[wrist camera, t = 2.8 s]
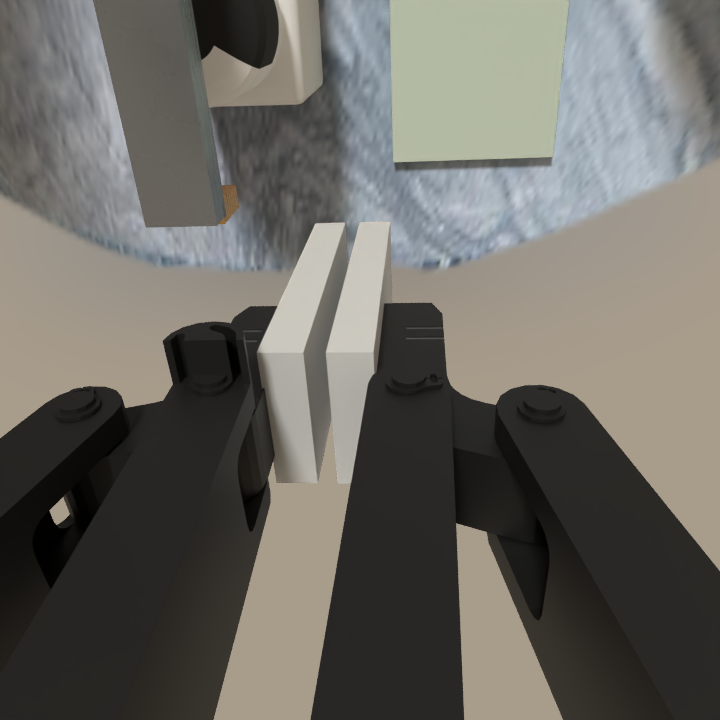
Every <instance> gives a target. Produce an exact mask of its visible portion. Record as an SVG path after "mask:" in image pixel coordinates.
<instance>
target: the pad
mask: <svg viewBox="0 0 720 720" xmlns="http://www.w3.org/2000/svg"><path fill="white" fill-rule="evenodd" d="M568 7H569V0H390V37H391V81H392V126H393V162H417V161H447V160H478V159H508V158H539V157H553V150H554V141H555V131H556V122H557V112H558V102H559V93H560V83H561V74H562V64H563V55H564V45H565V35H566V26H567V16H568Z"/></svg>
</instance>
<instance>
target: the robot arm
mask: <svg viewBox="0 0 720 720" xmlns="http://www.w3.org/2000/svg"><path fill="white" fill-rule="evenodd" d="M442 318H443V317H442V313H441V312H440V311H439V310H438V309H437V308H436V307H435V306H434V305H433V304H432V303H392V274H391V236H390V222H360V223H359V227H358V231H357V235H356V239H355V243H354V246H353V250H352V254H351V258H350V262H349V266H348V255H347V239H346V223H315V226H314V228H313V230H312V232H311V234H310V237H309V239H308V241H307V243H306V245H305V248H304V250H303V252H302V254H301V256H300V259H299V261H298V263H297V265H296V267H295V269H294V272H293V274H292V276H291V278H290V281H289V283H288V285H287V287H286V290H285V291H284V294H283V296H282V298H281V300H280V303H279V305H278V306H258V307H256V306H255V307H254V306H253V307H252V306H251V307H249V308H247V309H246V310H244V311H243V312H241V313H240V314H238V315H237V316H236V317H234V319H233V321H232V322H231V324H230V323H226V322H205V323H198V324H194V325H190V326H186V327H183V328H181V329H179V330H177V331H175V332H173V333H171V334H170V335H169V336H168V337H166V338H165V339H164V340H163V344H164V348H165V353H166V357H167V361H168V365H169V369H170V373H171V377H172V381H173V385H172V387H171V389H170V390H169V392H168V394H167V395H166V397H165V399H164V400H163V401H160V402H156V403H151V404H146V405H140V406H135V407H129V408H125V406H124V403H123V400H122V396H121V395H120V394H119V393H118V392H117V391H116V390H113V389H111V388H107V387H91V386H89V387H83V388H77V389H73V390H71V391H69V392H67V393H64V394H62V395H59V396H57V397H55V398H54V399H52V400H50V401H49V402H47V403H45V404H44V405H43V406H42V407H40V408H39V409H38V410H36V411H35V412H34V413H32V414H31V415H30V416H29V417H28V418H26V419H25V420H24V421H22V422H21V423H20V424H18V425H17V426H16V427H14V428H13V429H12V430H11V431H9V432H8V433H7V434H5V435H4V436H3V437H2V438H0V720H213V719H214V715H215V712H216V708H217V704H218V700H219V696H220V692H221V688H222V685H223V681H224V677H225V673H226V669H227V666H228V662H229V658H230V654H231V651H232V646H233V643H234V639H235V635H236V632H237V628H238V624H239V620H240V616H241V613H242V609H243V605H244V601H245V597H246V594H247V590H248V586H249V582H250V578H251V574H252V571H253V567H254V563H255V559H256V555H257V552H258V548H259V544H260V540H261V536H262V533H263V529H264V525H265V521H266V517H267V514H268V510H269V506H270V488H269V482H268V476H269V472H270V469H271V466H272V462H274V468H275V474H276V481H277V483H318V480H319V474H320V470H321V465H322V461H323V456H324V451H325V445H326V441H327V436H328V431H329V427H330V422H331V417H332V426H333V438H334V450H335V460H336V472H337V483H338V484H351V486H350V492H349V498H348V504H347V510H346V515H345V522H344V527H343V533H342V539H341V545H340V551H339V556H338V562H337V568H336V574H335V580H334V586H333V592H332V597H331V604H330V609H329V615H328V621H327V627H326V632H325V639H324V645H323V650H322V656H321V662H320V667H319V673H318V679H317V685H316V691H315V697H314V703H313V708H312V715H311V720H464V707H463V682H462V660H461V659H462V657H461V635H460V634H461V633H460V609H459V586H458V560H457V537H456V523H458V524H461V525H464V526H468V527H472V528H475V529H479V530H482V531H486V532H487V535H488V541H489V545H490V547H491V549H492V552H493V554H494V556H495V558H496V561H497V564H498V566H499V568H500V571H501V573H502V575H503V578H504V580H505V583H506V585H507V587H508V589H509V592H510V594H511V597H512V599H513V602H514V604H515V606H516V608H517V611H518V613H519V615H520V618H521V620H522V623H523V625H524V628H525V630H526V632H527V634H528V637H529V640H530V642H531V644H532V647H533V649H534V651H535V653H536V656H537V659H538V661H539V663H540V666H541V668H542V670H543V673H544V675H545V678H546V680H547V682H548V685H549V687H550V689H551V692H552V694H553V697H554V699H555V701H556V704H557V706H558V708H559V711H560V713H561V716H562V718H563V720H720V571H719V570H718V568H717V567H716V566H715V565H714V564H713V562H712V561H711V560H710V559H709V557H708V556H707V555H706V554H705V552H704V551H703V550H702V549H701V547H700V546H699V545H698V544H697V542H696V541H695V540H694V539H693V537H692V536H691V535H690V534H689V533H688V531H687V530H686V529H685V528H684V526H683V525H682V524H681V523H680V521H679V520H678V519H677V518H676V517H675V515H674V514H673V513H672V512H671V510H670V509H669V508H668V507H667V505H666V504H665V503H664V502H663V500H662V499H661V498H660V497H659V496H658V494H657V493H656V492H655V491H654V489H653V488H652V487H651V486H650V484H649V483H648V482H647V481H646V479H645V478H644V477H643V476H642V475H641V473H640V472H639V471H638V470H637V469H636V467H635V466H634V465H633V463H632V462H631V461H630V460H629V458H628V457H627V456H626V455H625V453H624V452H623V451H622V450H621V449H620V447H619V446H618V445H617V444H616V442H615V441H614V440H613V439H612V437H611V436H610V435H609V434H608V432H607V431H606V430H605V429H604V428H603V426H602V425H601V424H600V423H599V421H598V420H597V419H596V418H595V416H594V415H593V414H592V413H591V412H590V410H589V409H588V408H587V406H586V405H585V404H584V403H583V402H582V401H580V400H579V399H578V398H577V397H575V396H574V395H573V394H570V393H568V392H565V391H563V390H561V389H558V388H554V387H548V386H544V385H527V386H526V385H525V386H521V387H517V388H513V389H510V390H509V391H507V392H506V393H504V394H502V395H501V396H500V398H499V400H498V402H497V404H496V405H493V404H488V403H484V402H480V401H476V400H473V399H470V398H468V397H466V396H463V395H461V394H460V393H459V392H457V391H456V390H455V389H453V387H452V386H451V385H450V383H449V380H448V378H447V371H446V360H445V359H446V358H445V344H444V331H443V319H442ZM62 497H64V500H65V502H66V505H67V507H68V510H69V513H70V515H69V516H68V517H67V518H66V519H65V520H64V521H63V522H61V523H60V524H58V525H56V524H55V523H54V521H53V519H52V516H51V514H50V511H49V510H50V509H51V508H52V507H53V506H54V505H55V504H56V503H57V502H58V501H59V500H60V499H61V498H62Z"/></svg>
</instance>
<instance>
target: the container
mask: <svg viewBox="0 0 720 720" xmlns="http://www.w3.org/2000/svg"><path fill="white" fill-rule="evenodd" d="M191 1H192V7H193V13H194V19H195V25H196V31H197V37H198V44H199V50H200V56H201V62H202V68H203V74H204V80H205V87H206V93H207V99H208V105H209V108H211V107H223V106H263V105H298V104H302V103H303V102H304V101H305V100H306V99H307V98H308V97H309V96H311V95H312V94H313V93H314V92H315V91H316V90H317V89H318V88H319V87H320V86H321V85H322V84H323V70H322V54H321V37H320V20H319V3H318V0H191Z"/></svg>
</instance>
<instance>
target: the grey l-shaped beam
mask: <svg viewBox="0 0 720 720" xmlns="http://www.w3.org/2000/svg"><path fill="white" fill-rule="evenodd" d="M93 2H94V6H95V10H96V15H97V19H98V23H99V28H100V32H101V36H102V40H103V45H104V49H105V53H106V58H107V62H108V66H109V71H110V75H111V79H112V84H113V88H114V92H115V96H116V101H117V105H118V109H119V114H120V118H121V122H122V127H123V131H124V135H125V139H126V144H127V148H128V152H129V157H130V161H131V165H132V170H133V174H134V178H135V182H136V187H137V191H138V195H139V200H140V204H141V208H142V213H143V217H144V221H145V225H146V227H186V226H217V225H218V224H225V223H226V222H227V221H228V220H229V219H230V217H231V216H232V215H233V214H234V213H235V212H236V210H237V209H238V208H239V203H238V196H237V190H236V185H224V186H222V185H221V179H220V173H219V166H218V160H217V154H216V148H215V142H214V136H213V130H212V123H211V117H210V111H209V105H208V99H207V93H206V87H205V80H204V74H203V68H202V62H201V56H200V50H199V44H198V37H197V31H196V25H195V19H194V13H193V7H192V1H191V0H93Z"/></svg>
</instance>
